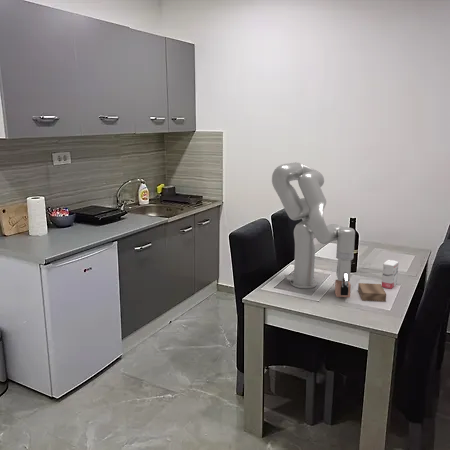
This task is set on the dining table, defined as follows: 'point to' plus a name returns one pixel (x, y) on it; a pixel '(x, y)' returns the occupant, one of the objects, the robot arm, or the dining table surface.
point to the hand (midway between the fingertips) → (342, 291)
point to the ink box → (390, 274)
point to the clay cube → (338, 289)
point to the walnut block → (371, 292)
